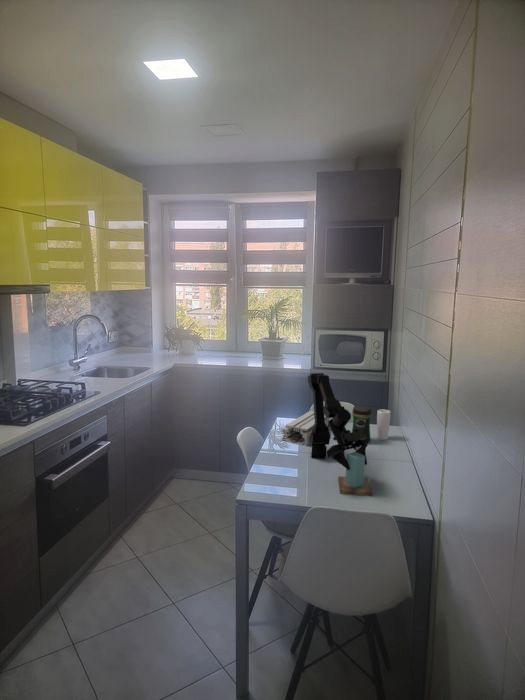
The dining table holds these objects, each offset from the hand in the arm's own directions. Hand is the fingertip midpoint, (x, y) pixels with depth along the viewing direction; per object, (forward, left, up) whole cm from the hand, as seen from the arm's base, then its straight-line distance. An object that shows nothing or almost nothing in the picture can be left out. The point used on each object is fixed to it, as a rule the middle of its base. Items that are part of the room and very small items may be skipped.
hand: (358, 467), depth 168 cm
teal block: (-1, +1, -8) cm, 8 cm away
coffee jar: (+7, +55, -9) cm, 56 cm away
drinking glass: (+19, +61, -9) cm, 65 cm away
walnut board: (-1, +1, -9) cm, 9 cm away
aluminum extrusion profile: (-21, +60, -10) cm, 64 cm away
